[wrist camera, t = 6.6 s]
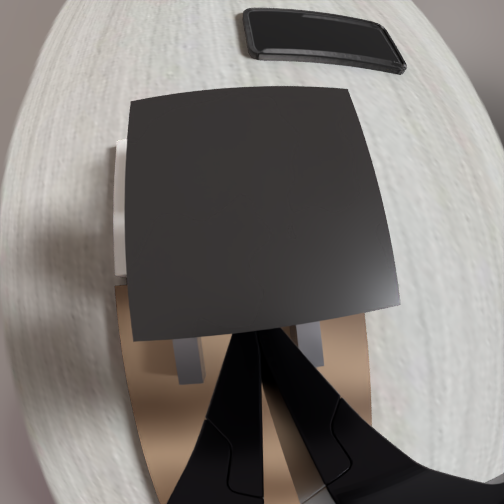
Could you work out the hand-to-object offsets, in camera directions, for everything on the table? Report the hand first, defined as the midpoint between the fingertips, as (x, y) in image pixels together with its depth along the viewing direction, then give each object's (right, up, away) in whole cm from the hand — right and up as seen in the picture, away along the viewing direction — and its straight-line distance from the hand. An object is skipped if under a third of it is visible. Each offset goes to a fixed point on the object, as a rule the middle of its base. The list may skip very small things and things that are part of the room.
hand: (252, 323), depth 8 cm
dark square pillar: (-1, +4, +8) cm, 9 cm away
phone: (+7, +22, +14) cm, 27 cm away
